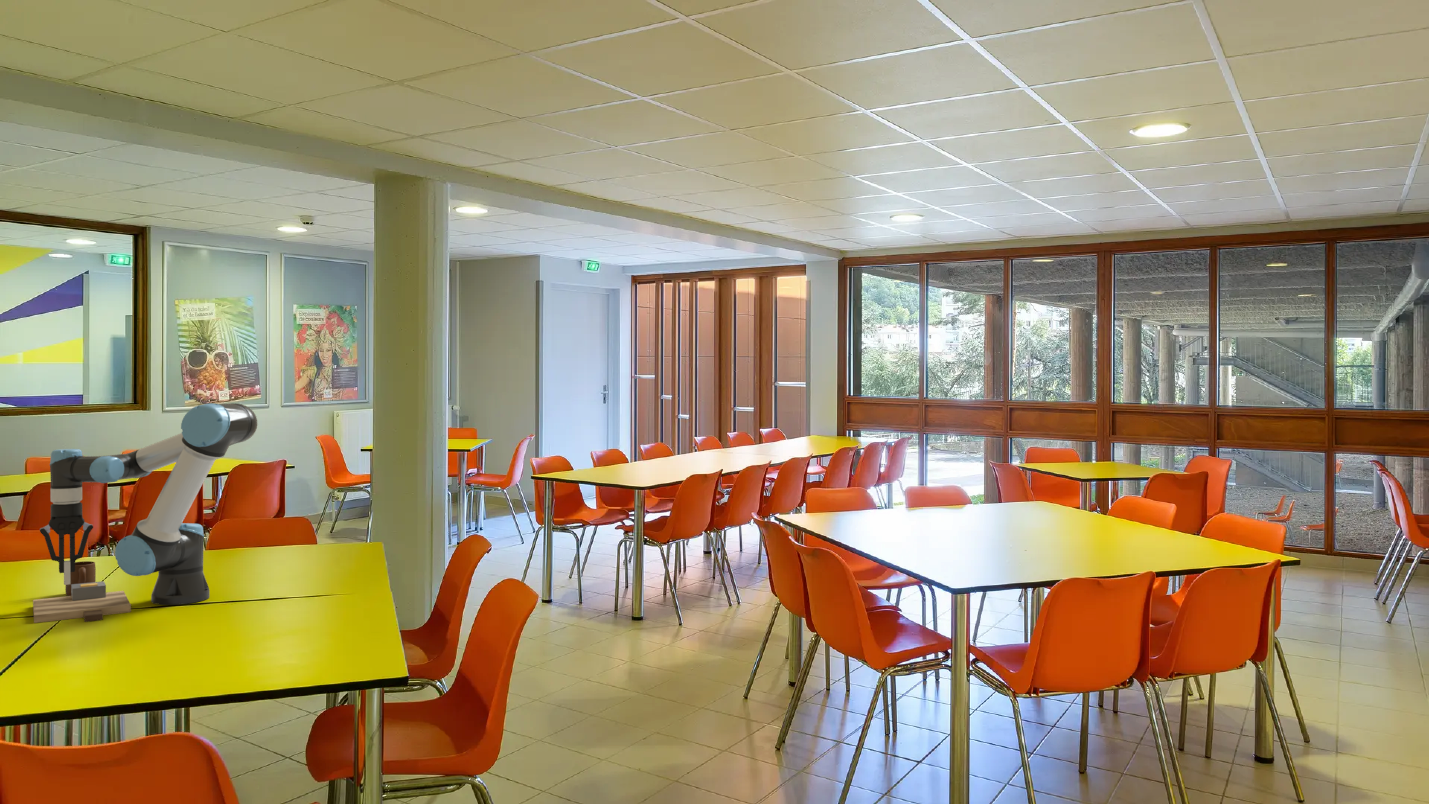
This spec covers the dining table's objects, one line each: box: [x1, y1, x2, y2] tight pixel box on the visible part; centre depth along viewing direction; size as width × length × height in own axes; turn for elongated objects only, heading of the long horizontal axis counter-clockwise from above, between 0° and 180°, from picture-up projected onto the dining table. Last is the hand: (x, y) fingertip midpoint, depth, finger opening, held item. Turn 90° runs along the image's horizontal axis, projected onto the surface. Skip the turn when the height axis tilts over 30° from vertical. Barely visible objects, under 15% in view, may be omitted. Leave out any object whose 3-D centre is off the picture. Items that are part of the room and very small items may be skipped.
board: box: [32, 590, 132, 624], centre depth 260 cm, size 28×22×2 cm
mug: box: [65, 560, 97, 596], centre depth 280 cm, size 12×8×9 cm, turn 38°
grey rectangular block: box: [71, 580, 107, 601], centre depth 269 cm, size 7×8×4 cm
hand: (67, 583), depth 266 cm, fingers closed
